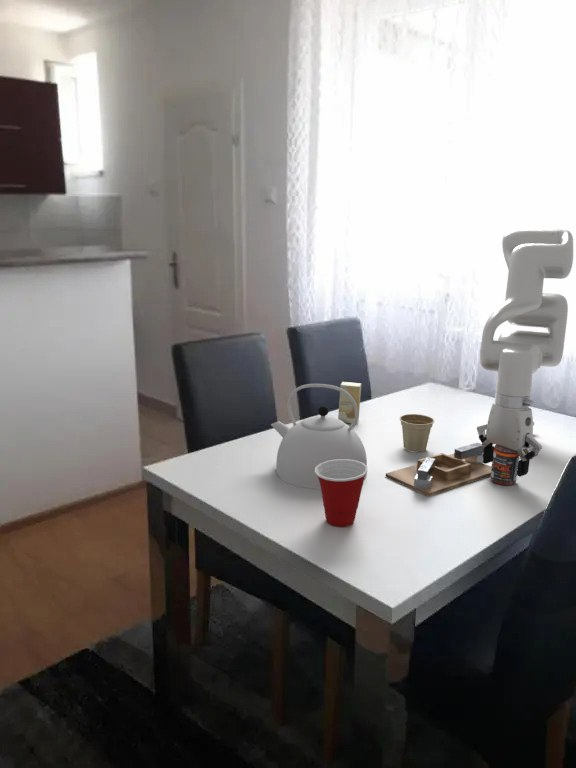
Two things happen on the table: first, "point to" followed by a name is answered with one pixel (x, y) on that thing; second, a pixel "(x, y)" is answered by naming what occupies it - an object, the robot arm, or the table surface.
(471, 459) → the pair of grey blocks
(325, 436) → the kettle
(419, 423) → the flower pot
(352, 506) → the plastic cup
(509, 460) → the supplement bottle
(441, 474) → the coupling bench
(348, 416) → the skincare box
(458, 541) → the table surface
